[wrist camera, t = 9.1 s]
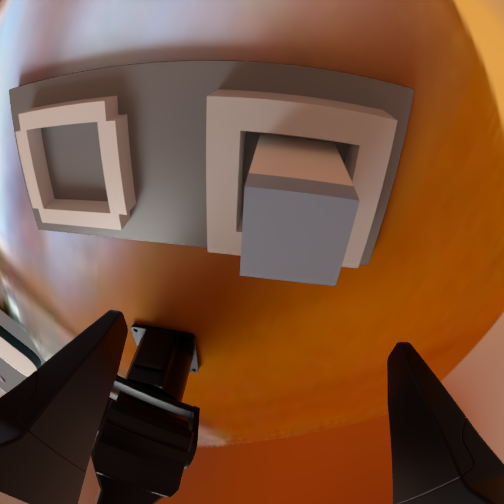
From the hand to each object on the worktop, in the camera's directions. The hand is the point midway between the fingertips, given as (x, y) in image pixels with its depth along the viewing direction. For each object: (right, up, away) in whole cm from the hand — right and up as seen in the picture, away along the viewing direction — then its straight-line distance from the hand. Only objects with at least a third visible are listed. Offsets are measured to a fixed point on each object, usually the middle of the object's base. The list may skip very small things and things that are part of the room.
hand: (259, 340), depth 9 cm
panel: (-5, +9, +9) cm, 13 cm away
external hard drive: (-45, -10, +29) cm, 54 cm away
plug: (+2, +7, +8) cm, 11 cm away
